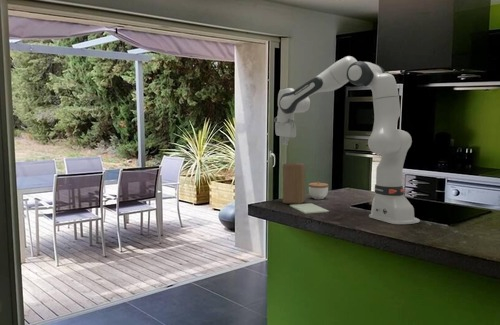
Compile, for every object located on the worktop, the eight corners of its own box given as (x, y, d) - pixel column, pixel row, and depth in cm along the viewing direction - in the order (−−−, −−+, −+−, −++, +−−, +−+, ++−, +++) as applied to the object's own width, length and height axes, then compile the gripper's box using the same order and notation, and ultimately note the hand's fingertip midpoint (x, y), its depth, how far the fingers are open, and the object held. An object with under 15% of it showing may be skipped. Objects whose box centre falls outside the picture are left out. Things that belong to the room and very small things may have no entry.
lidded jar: (332, 198, 247) (332, 181, 246) (319, 201, 240) (320, 183, 239) (316, 195, 255) (317, 179, 254) (304, 198, 248) (304, 181, 246)
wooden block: (282, 203, 230) (282, 164, 229) (286, 200, 240) (286, 162, 239) (301, 204, 228) (301, 164, 226) (305, 201, 237) (305, 163, 236)
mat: (328, 211, 214) (328, 210, 213) (305, 213, 210) (305, 212, 210) (311, 204, 230) (311, 203, 230) (289, 206, 227) (289, 204, 227)
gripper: (299, 119, 232) (299, 146, 233) (283, 118, 251) (283, 143, 252) (288, 119, 230) (287, 146, 231) (273, 118, 249) (272, 143, 250)
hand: (285, 145), depth 242 cm, fingers closed
